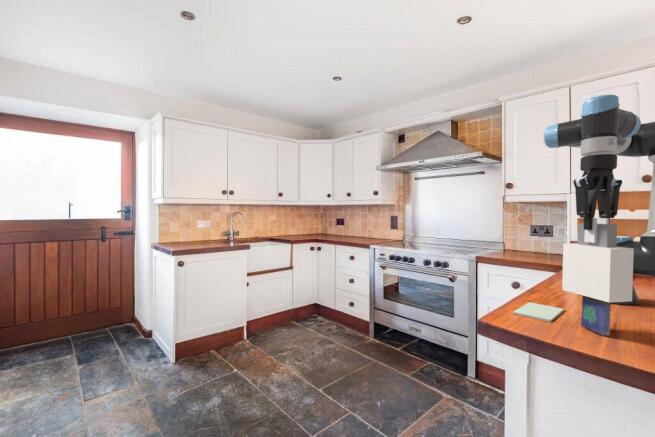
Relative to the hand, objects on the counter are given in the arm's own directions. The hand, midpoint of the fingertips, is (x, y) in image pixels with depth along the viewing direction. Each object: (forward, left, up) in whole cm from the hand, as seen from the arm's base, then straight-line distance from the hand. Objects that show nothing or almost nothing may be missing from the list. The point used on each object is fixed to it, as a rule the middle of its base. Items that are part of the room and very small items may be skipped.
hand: (596, 242), depth 86 cm
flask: (0, 0, -25) cm, 25 cm away
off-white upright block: (0, 0, -15) cm, 15 cm away
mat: (+2, -16, -24) cm, 29 cm away
